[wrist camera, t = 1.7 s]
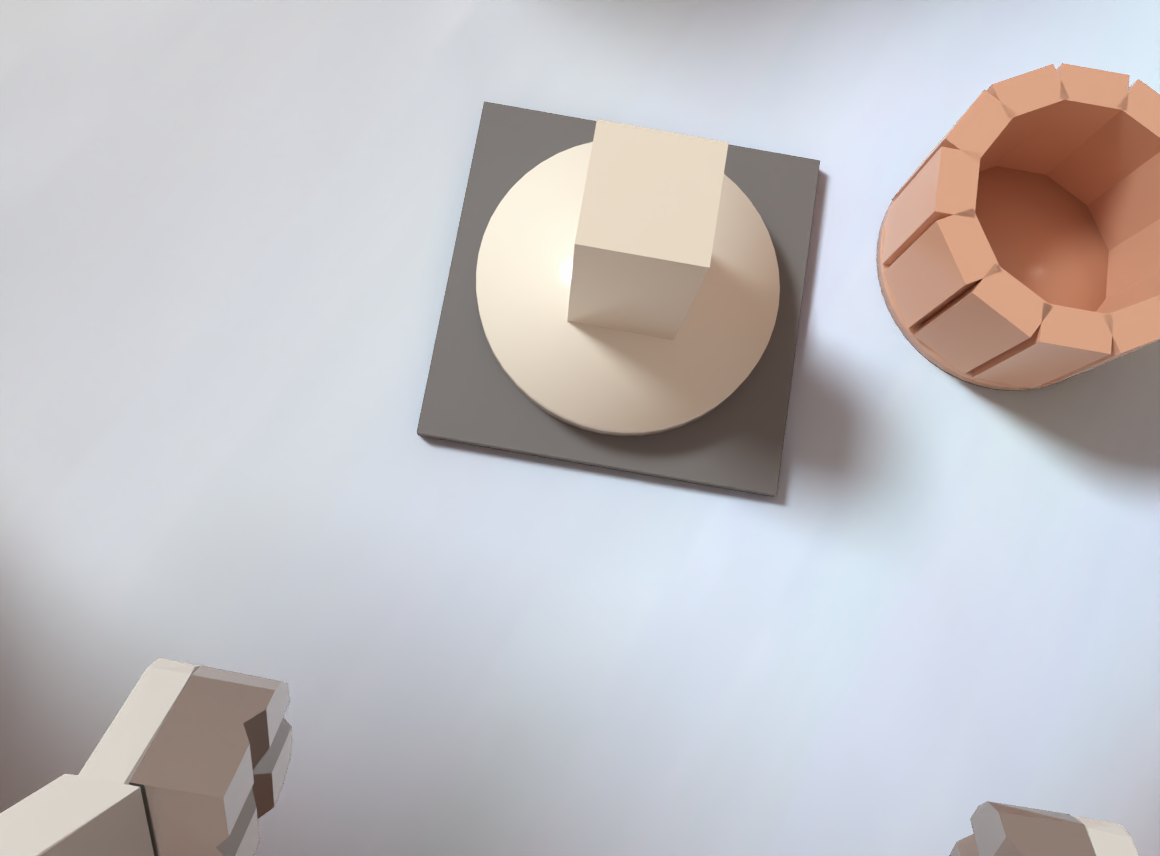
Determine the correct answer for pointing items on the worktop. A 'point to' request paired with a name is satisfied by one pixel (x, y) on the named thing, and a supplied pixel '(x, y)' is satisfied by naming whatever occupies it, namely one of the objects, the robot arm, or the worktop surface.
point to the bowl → (1032, 232)
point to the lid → (628, 282)
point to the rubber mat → (511, 422)
